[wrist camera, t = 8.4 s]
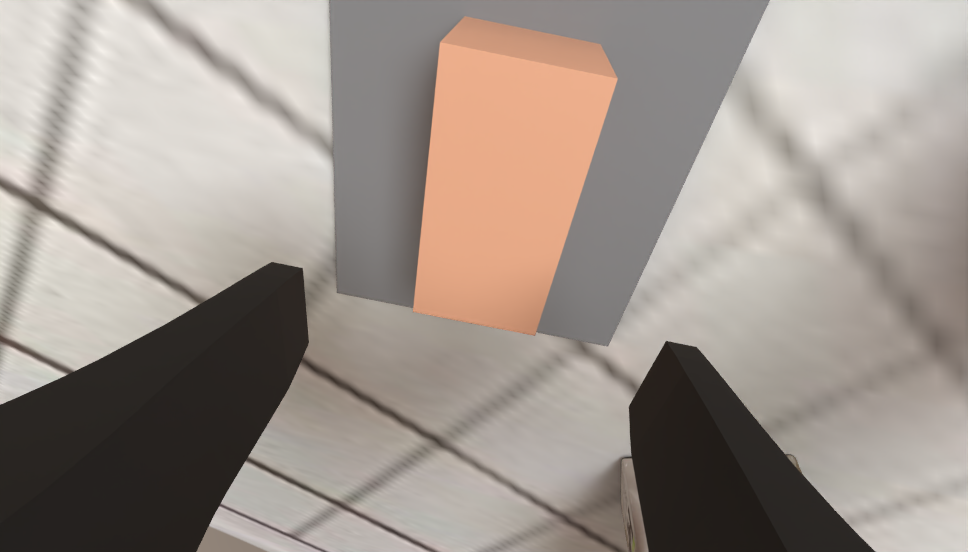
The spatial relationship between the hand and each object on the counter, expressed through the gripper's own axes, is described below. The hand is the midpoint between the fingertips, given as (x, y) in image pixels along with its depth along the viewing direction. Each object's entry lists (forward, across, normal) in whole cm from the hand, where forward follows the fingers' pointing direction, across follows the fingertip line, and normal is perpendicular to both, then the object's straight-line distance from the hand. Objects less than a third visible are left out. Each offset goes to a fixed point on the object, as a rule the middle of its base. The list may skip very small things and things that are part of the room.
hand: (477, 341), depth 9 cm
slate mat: (+9, 0, 0) cm, 9 cm away
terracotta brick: (+8, 0, 0) cm, 8 cm away
